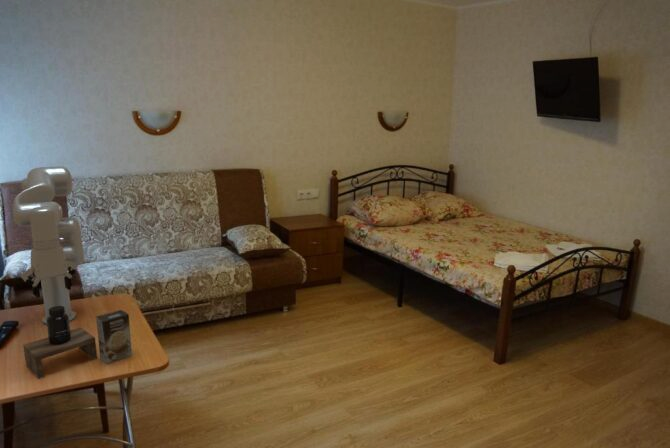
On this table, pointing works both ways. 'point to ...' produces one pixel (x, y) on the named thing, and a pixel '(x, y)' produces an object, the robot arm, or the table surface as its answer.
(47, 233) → the robot arm
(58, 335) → the supplement bottle
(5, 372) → the table surface
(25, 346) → the walnut shelf
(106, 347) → the coffee box
